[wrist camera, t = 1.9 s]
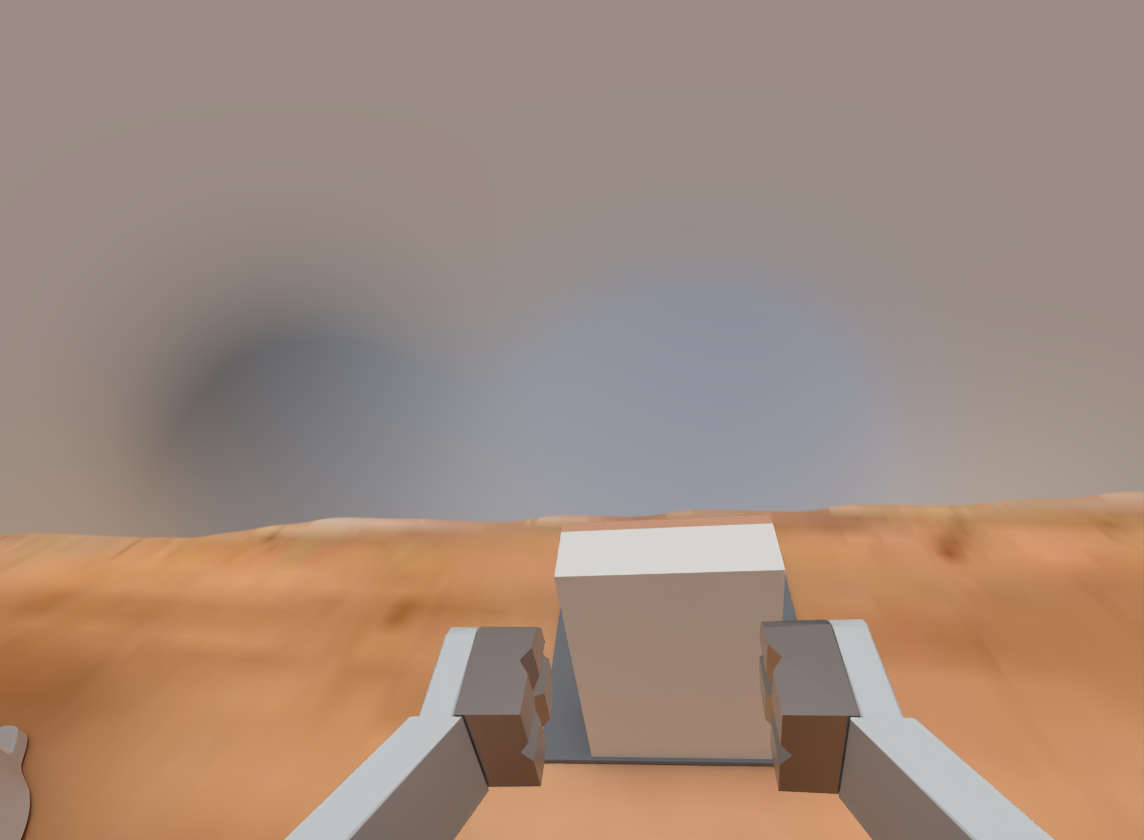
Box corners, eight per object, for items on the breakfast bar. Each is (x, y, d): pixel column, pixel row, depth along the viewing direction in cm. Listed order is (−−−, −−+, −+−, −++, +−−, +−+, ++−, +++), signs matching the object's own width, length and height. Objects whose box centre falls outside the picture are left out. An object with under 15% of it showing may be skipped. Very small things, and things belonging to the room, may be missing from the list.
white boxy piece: (591, 756, 35) (554, 576, 28) (595, 699, 38) (562, 523, 31) (775, 759, 34) (785, 569, 27) (764, 699, 37) (770, 514, 30)
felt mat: (540, 762, 36) (539, 759, 36) (567, 562, 49) (567, 559, 49) (834, 767, 33) (835, 763, 33) (778, 555, 47) (778, 552, 47)
